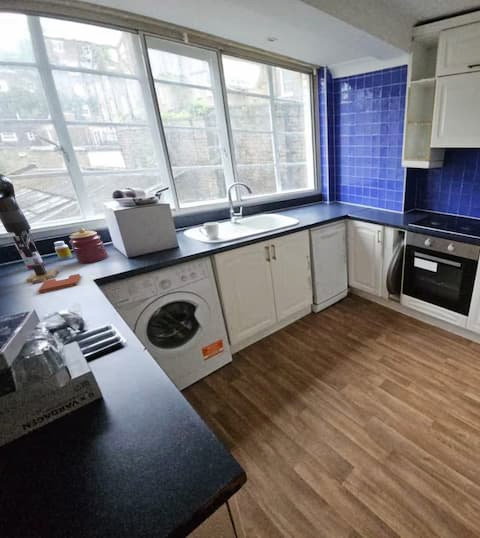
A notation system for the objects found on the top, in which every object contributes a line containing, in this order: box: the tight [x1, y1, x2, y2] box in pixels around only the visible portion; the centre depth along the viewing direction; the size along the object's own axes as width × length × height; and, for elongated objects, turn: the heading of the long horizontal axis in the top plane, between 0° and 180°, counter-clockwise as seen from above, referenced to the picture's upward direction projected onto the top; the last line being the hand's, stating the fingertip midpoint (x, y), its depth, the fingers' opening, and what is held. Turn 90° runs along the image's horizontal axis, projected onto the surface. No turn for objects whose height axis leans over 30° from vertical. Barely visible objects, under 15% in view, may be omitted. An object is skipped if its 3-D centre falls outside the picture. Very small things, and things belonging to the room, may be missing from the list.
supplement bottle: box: [53, 240, 74, 261], centre depth 164 cm, size 5×5×10 cm
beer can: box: [13, 241, 45, 270], centre depth 152 cm, size 6×6×16 cm
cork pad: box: [26, 263, 58, 284], centre depth 140 cm, size 9×12×6 cm
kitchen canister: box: [68, 227, 108, 264], centre depth 160 cm, size 13×13×18 cm
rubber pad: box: [38, 273, 81, 294], centre depth 133 cm, size 12×12×2 cm
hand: (32, 254), depth 138 cm, fingers open, 8 cm apart
